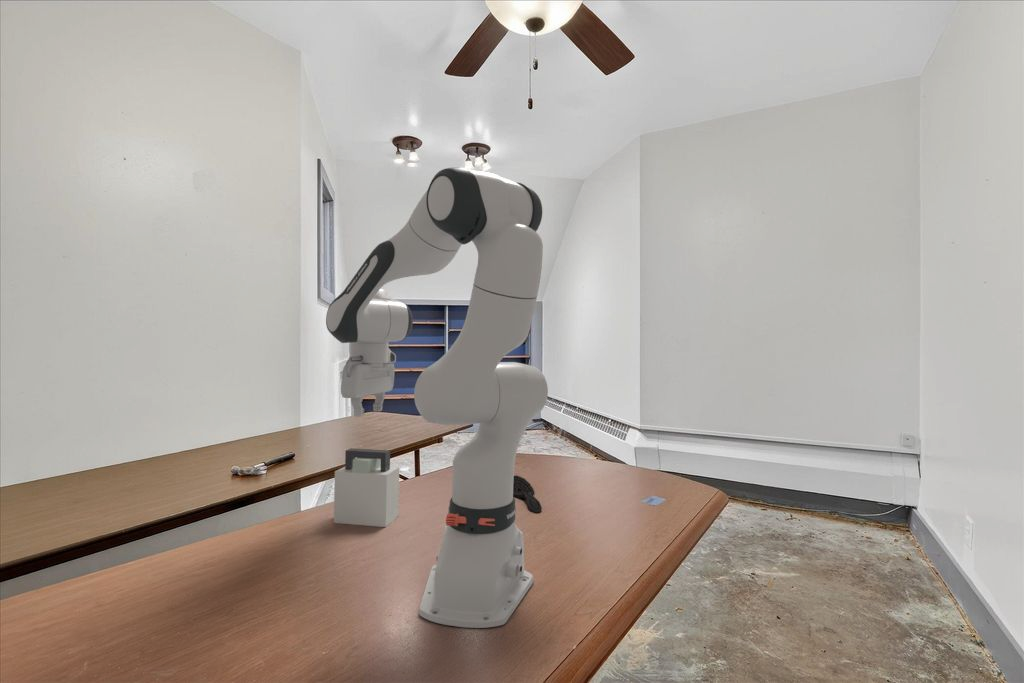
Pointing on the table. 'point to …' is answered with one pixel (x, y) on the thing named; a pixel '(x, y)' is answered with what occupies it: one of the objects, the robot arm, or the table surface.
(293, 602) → the table surface
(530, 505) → the hairbrush
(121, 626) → the table surface
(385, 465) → the frame
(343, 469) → the stand
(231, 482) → the table surface
